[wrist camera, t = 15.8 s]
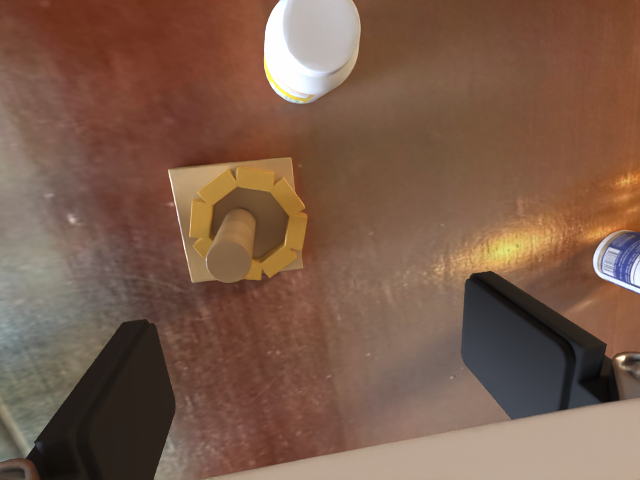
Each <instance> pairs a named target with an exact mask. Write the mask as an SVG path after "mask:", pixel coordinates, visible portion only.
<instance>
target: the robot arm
mask: <svg viewBox="0 0 640 480" xmlns="http://www.w3.org/2000/svg"><path fill="white" fill-rule="evenodd" d="M606 346H607V344H606V343H604V342H602V341H601V340H599V339H598V338H596V337H595V336H593V335H591V334H590V333H588V332H587V331H585V330H584V329H582V328H580V327H579V326H577V325H576V324H574V323H573V322H571V321H569V320H568V319H566V318H565V317H563V316H562V315H560V314H558V313H557V312H555V311H554V310H552V309H551V308H549V307H547V306H546V305H544V304H543V303H541V302H540V301H538V300H536V299H535V298H533V297H532V296H530V295H529V294H527V293H525V292H524V291H522V290H521V289H519V288H518V287H516V286H514V285H513V284H511V283H510V282H508V281H507V280H505V279H503V278H502V277H500V276H499V275H497V274H496V273H494V272H492V271H488V272H481V273H473V274H472V275H471V276H470V279H467V280H466V282H465V294H464V311H463V329H462V347H461V354H462V358H463V361H464V363H465V364H466V366H467V367H468V368H469V369H470V370H471V372H472V373H473V374H474V375H475V376H476V378H477V379H478V380H479V381H480V382H481V383H482V385H483V386H484V387H485V388H486V389H487V391H488V392H489V393H490V394H491V395H492V397H493V398H494V399H495V400H496V401H497V403H498V404H499V405H500V406H501V407H502V408H503V410H504V411H505V412H506V413H507V414H508V416H509V417H510V418H511V419H512V420H507V421H502V422H497V423H491V424H486V425H481V426H475V427H470V428H465V429H459V430H454V431H449V432H444V433H438V434H433V435H428V436H423V437H417V438H412V439H407V440H402V441H396V442H391V443H386V444H381V445H375V446H370V447H365V448H360V449H355V450H349V451H344V452H339V453H334V454H329V455H323V456H318V457H313V458H308V459H303V460H297V461H292V462H287V463H282V464H277V465H272V466H266V467H261V468H256V469H251V470H246V471H241V472H236V473H231V474H226V475H221V476H216V477H211V478H206V479H200V480H640V352H622V353H618V354H616V355H615V356H614V357H613V358H612V360H611V359H610V358H608V357H607V356H605V350H606ZM175 406H176V404H175V397H174V393H173V390H172V386H171V382H170V378H169V374H168V370H167V367H166V363H165V359H164V355H163V351H162V347H161V344H160V340H159V336H158V332H157V328H156V326H155V324H154V323H151V324H149V322H148V321H147V320H146V319H143V320H136V321H129V322H123V323H122V324H121V325H120V327H119V328H118V329H117V331H116V332H115V334H114V335H113V336H112V338H111V339H110V340H109V342H108V343H107V344H106V346H105V347H104V348H103V350H102V351H101V352H100V354H99V355H98V357H97V358H96V359H95V361H94V362H93V363H92V365H91V366H90V367H89V369H88V370H87V371H86V373H85V374H84V375H83V377H82V378H81V380H80V381H79V382H78V384H77V385H76V386H75V388H74V389H73V390H72V392H71V393H70V394H69V396H68V397H67V398H66V400H65V401H64V403H63V404H62V405H61V407H60V408H59V409H58V411H57V412H56V413H55V415H54V416H53V417H52V419H51V420H50V422H49V423H48V424H47V426H46V427H45V428H44V430H43V431H42V432H41V434H40V435H39V436H38V438H37V439H36V440H35V442H34V443H35V446H34V448H33V449H32V450H31V452H30V453H29V454H28V456H27V457H26V459H24V458H16V459H9V460H6V461H3V462H0V480H153V479H154V476H155V473H156V470H157V467H158V464H159V460H160V457H161V454H162V451H163V448H164V445H165V442H166V439H167V436H168V433H169V429H170V426H171V423H172V420H173V417H174V414H175Z"/></svg>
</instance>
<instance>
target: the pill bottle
mask: <svg viewBox="0 0 640 480" xmlns="http://www.w3.org/2000/svg"><path fill="white" fill-rule="evenodd" d="M593 265H594V269H595V271H596V273H597V274H598V275H599V276H600V277H601V278H603V279H605V280H607V281H609V282H611V283H613V284H616V285H618V286H621V287H623V288H625V289H628V290H630V291H633V292H635V293H638V294H640V232H636V231H631V230H620V231H616V232H614V233H612V234H610V235H608V236H607V237H606V238H605V239H604V240H603V241H602V242H601V243H600V244H599V246H598V247H597V249H596V252H595V254H594V258H593Z"/></svg>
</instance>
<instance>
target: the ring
mask: <svg viewBox="0 0 640 480" xmlns="http://www.w3.org/2000/svg"><path fill="white" fill-rule="evenodd" d="M274 179H275V172H274V171H270V170H263V169H257V168H251V167H245V166H238V167H237V173H236V176H235V175H234V174H233V173H232V171H231V170H230V169H229V168H228V169H226V170H225V171H224V172H223V173H221V174H220V175H219V176H217V177H216V178H215V179H213V180H212V181H211V182H209V183H208V184H207V185H205V186H204V187H203V188H201V189H200V190H199V191H198V192H197V193H198V194H199V195H200V197H201V198H202V199H201V198H195V199H194V200H193V201H192V207H191V220H190V233H189V237H194V238H199V239H198V240H196V242H195V243H194V245H193V247H194V248H195V249H196V250H197V252H198V253H199V254H200V255H201V256H202V257H203V258H204V259H205V260H206V256H207V253H208V251H209V249H210V247H211V245H212V243H213V241H214V239H215V236H214V234H213V233H212V224H213V213H214V204H216V203H217V202H218V201H220V200H221V199H222V198H224V197H225V196H226V195H228V194H229V193H230V192H232V191H233V190H234V189H236V188H237V187H241V188H248V189H255V190H262V191H268V192H271V194H272V195H273V196H274V198H275V199H276V200H277V202H278V203H279V204H280V205H281V207H282V208H283V209H284V211H285V212H286V213H287V215H288V217H287V223H286V230H285V237H284V241H283V242H282V243H281V244H279V245H278V246H276V247H275V248H274V249H272V250H271V251H270V252H268V253H267V254H265V255H264V256H263V257H261V258H257V257H252V265H251V269H250V271H249V273H248V274H247V275H246V276H245V277H244V278H243V279H251V280H261V275H262V270H263V271H264V272H265V273H266V274H267V275H268V277H269V278H270V277H272V276H273V275H275V274H276V273H277V272H279V271H280V270H281V269H283V268H284V267H286V266H287V265H288V264H290V263H291V262H292V261H294V260H295V259H297V256H296V252H295V251H294V250H293V249H296V250H302V248H303V242H304V236H305V230H306V224H307V218H308V217H307V215H306V213H302V212H300V211H302V210H303V209H304V208H305V206H304V204H303V203H302V201H301V200H300V199H299V197H298V196H297V194H296V193H295V192H294V190H293V189H292V188H291V186H290V185H289V184H288V182H287V181H286V180H285V178H284V177H281V178H280V179H279V180H277V181H276V182H275V183H274Z"/></svg>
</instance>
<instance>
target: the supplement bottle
mask: <svg viewBox="0 0 640 480" xmlns="http://www.w3.org/2000/svg"><path fill="white" fill-rule="evenodd" d="M360 32H361V27H360V18H359V14H358V11H357V8H356V6H355V4H354V2H353V1H352V0H281V1H280V2H279V3H278V4H277V5H276V7H275V8H274V10H273V11H272V13H271V15H270V18H269V20H268V23H267V27H266V33H265V54H264V66H265V72H266V76H267V78H268V81H269V82H270V84H271V86H272V87H273V89H274V90H275V91H276V92H277V93H278V94H279V95H280V96H281V97H283V98H284V99H286V100H288V101H291V102H294V103H300V104H304V103H310V102H313V101H316V100H318V99H319V98H321V97H322V96H324V95H325V94H327V93H328V92H330V91H332V90H333V89H335V88H336V87H338V86H339V85H340V84H342V83H343V82H344V81H345V79H346V78H347V77H348V76H349V74H350V73H351V71H352V69H353V67H354V65H355V63H356V60H357V56H358V51H359V39H360Z"/></svg>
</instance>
